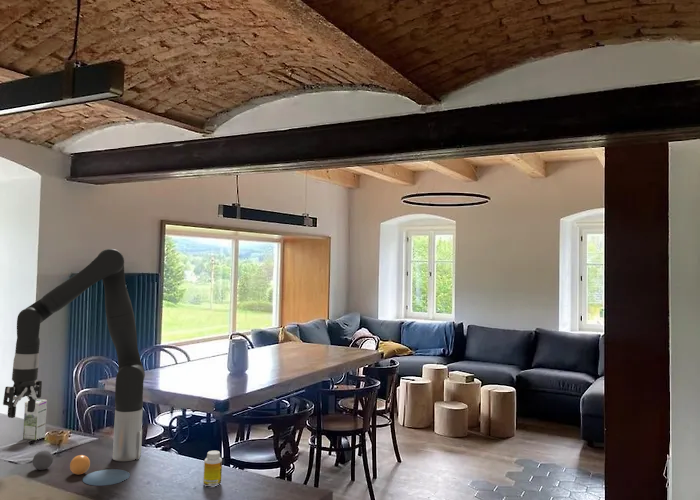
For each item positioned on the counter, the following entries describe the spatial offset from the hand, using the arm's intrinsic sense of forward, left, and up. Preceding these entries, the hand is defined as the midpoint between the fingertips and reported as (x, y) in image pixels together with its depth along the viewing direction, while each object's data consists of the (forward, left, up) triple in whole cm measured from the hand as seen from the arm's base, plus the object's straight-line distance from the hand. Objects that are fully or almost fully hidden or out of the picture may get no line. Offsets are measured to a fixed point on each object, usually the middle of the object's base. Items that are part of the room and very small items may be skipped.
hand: (21, 414), depth 191 cm
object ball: (-21, +10, -14) cm, 28 cm away
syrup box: (+4, -32, -17) cm, 37 cm away
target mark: (-30, +15, -17) cm, 38 cm away
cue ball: (-9, +5, -14) cm, 17 cm away
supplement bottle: (-64, +26, -17) cm, 71 cm away
